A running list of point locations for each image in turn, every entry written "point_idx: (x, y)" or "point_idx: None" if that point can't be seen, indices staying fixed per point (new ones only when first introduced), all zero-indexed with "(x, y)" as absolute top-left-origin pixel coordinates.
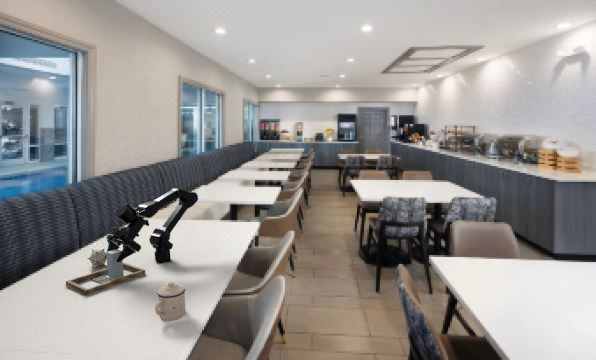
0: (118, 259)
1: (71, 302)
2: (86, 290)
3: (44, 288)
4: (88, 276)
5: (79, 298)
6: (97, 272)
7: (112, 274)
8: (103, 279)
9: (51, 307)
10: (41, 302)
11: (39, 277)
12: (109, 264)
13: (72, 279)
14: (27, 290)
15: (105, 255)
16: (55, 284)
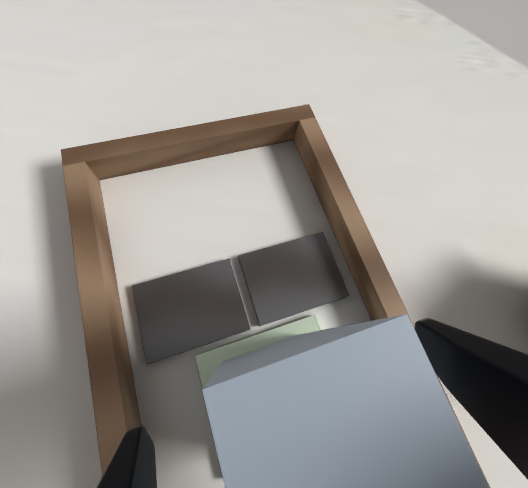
0: (107, 475)
1: (48, 103)
2: (61, 153)
3: (326, 60)
4: (338, 217)
5: (68, 138)
6: (366, 272)
7: (238, 357)
8: (259, 295)
9: (67, 42)
10: (162, 29)
11: (481, 69)
12: (284, 345)
13: (313, 132)
14: (341, 20)
15: (448, 326)
16: (352, 97)
